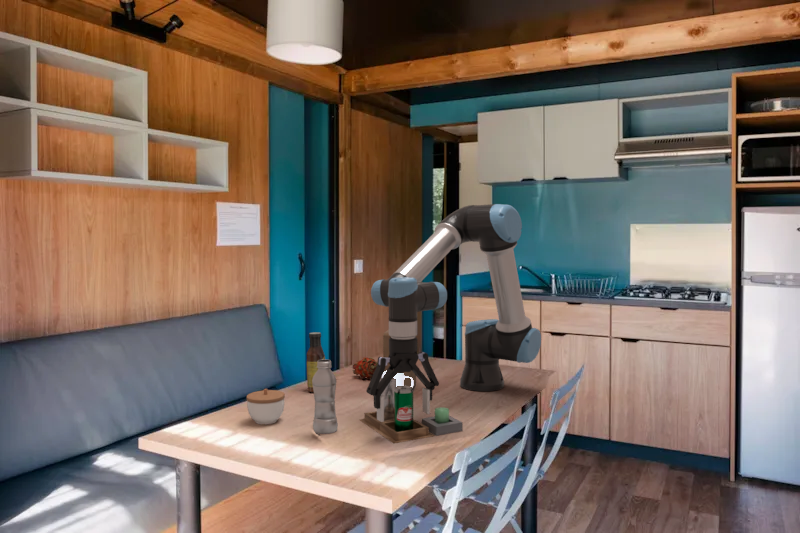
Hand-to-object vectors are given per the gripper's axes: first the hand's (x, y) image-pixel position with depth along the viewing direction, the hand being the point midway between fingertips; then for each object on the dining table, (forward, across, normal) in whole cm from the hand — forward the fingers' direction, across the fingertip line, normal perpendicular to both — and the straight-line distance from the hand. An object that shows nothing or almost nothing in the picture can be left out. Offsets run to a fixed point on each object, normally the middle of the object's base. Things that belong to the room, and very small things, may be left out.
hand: (403, 416), depth 162 cm
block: (+6, -22, -46) cm, 52 cm away
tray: (+6, 0, -5) cm, 7 cm away
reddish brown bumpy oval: (+6, -18, -64) cm, 67 cm away
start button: (+2, -11, +2) cm, 11 cm away
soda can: (+4, 0, 0) cm, 5 cm away
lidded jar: (+6, +28, -31) cm, 43 cm away
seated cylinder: (+4, 0, -10) cm, 11 cm away
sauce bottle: (+6, +4, -56) cm, 56 cm away
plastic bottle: (+6, +18, -12) cm, 22 cm away
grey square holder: (+6, -10, +2) cm, 12 cm away
